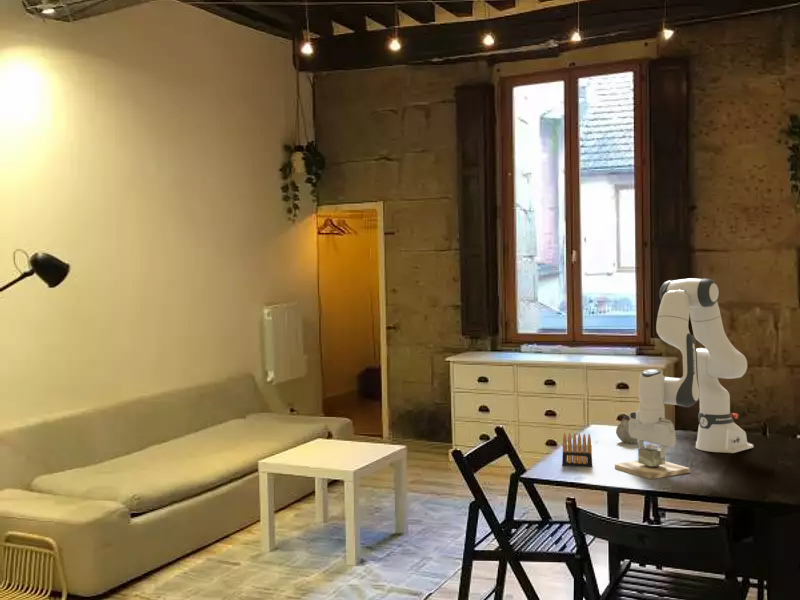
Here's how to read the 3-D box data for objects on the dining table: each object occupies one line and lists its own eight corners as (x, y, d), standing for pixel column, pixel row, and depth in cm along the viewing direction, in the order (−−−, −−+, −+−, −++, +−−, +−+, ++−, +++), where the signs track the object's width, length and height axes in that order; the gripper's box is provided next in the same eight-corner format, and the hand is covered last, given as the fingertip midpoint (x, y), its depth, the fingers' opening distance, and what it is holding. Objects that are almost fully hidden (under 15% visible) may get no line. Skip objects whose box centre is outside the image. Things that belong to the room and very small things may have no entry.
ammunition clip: (592, 466, 317) (592, 433, 316) (591, 467, 315) (591, 434, 314) (562, 464, 320) (562, 432, 320) (562, 465, 318) (561, 433, 318)
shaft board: (653, 462, 321) (653, 437, 320) (689, 472, 304) (689, 446, 304) (614, 468, 313) (614, 443, 312) (650, 479, 296) (649, 453, 296)
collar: (652, 460, 313) (652, 446, 312) (665, 464, 307) (664, 449, 307) (638, 462, 310) (638, 448, 310) (651, 466, 304) (651, 452, 304)
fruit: (613, 443, 353) (613, 414, 352) (620, 439, 361) (620, 410, 360) (638, 446, 347) (638, 416, 347) (645, 441, 355) (645, 412, 355)
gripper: (680, 419, 300) (680, 459, 300) (638, 410, 318) (639, 448, 319) (666, 421, 297) (666, 461, 298) (625, 412, 315) (626, 450, 316)
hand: (652, 454), depth 308 cm, fingers open, 8 cm apart
